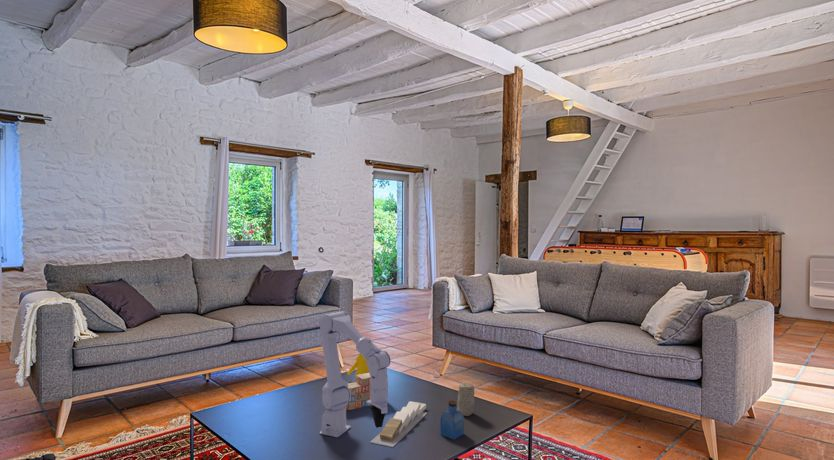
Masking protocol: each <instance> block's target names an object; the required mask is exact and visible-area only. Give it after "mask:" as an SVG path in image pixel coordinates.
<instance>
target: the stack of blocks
mask: <svg viewBox="0 0 834 460" xmlns="http://www.w3.org/2000/svg"><path fill="white" fill-rule="evenodd" d="M387 378H388V374H387ZM388 382H389V381H387V390H388V388H389V387H388V385H389V383H388ZM347 383H348V382H347ZM348 388H349V390H350V393H351V398H350V400H349V401H348V405H346V411H350V410H355V409H361V408H365V407H370V405H372V404H368V403H367V401H368V400H370V374H369V373H365V374H359V375H356V377H355V382H349V383H348Z"/></svg>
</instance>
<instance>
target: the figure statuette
mask: <svg viewBox="0 0 834 460" xmlns="http://www.w3.org/2000/svg"><path fill="white" fill-rule="evenodd" d="M355 370H356V371H355ZM354 371H355V375H354V376H355V378H356V375H359V374H365V373H369V368H368V366H367V360H366V359H365V358H364V357H363V356H362V355H361V354H360V353H359V354H358V355H357V357H356V361H355V363H353V365H352V366H351V367H350V369H349V370H348V371H347V372H346V374H347V375H348V376H350V375H351V374H352V373H353V372H354Z"/></svg>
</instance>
